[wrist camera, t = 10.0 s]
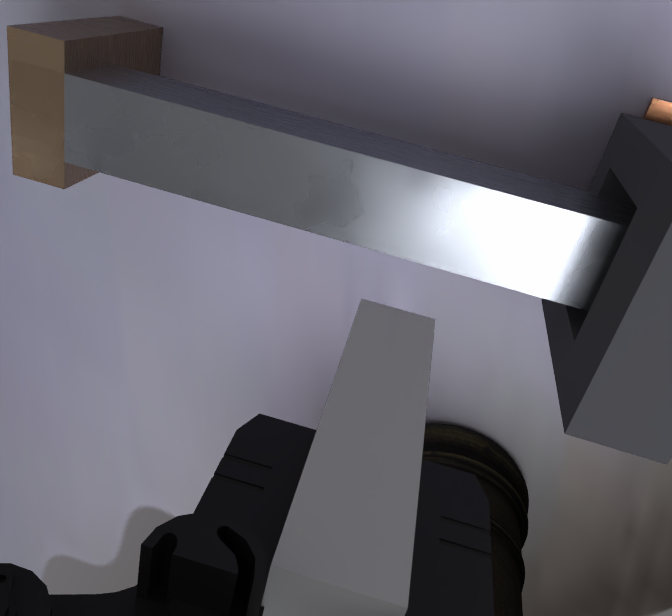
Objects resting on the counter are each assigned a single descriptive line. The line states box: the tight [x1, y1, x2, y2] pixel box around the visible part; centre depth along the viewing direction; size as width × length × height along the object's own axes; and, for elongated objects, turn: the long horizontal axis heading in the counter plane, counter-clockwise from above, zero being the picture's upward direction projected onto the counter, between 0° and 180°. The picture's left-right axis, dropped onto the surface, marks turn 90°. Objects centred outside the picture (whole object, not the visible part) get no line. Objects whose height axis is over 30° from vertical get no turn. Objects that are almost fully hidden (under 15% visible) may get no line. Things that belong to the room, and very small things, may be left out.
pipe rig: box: [7, 16, 672, 311], centre depth 23 cm, size 30×9×7 cm, turn 78°
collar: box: [542, 113, 672, 464], centre depth 20 cm, size 3×8×9 cm, turn 168°
